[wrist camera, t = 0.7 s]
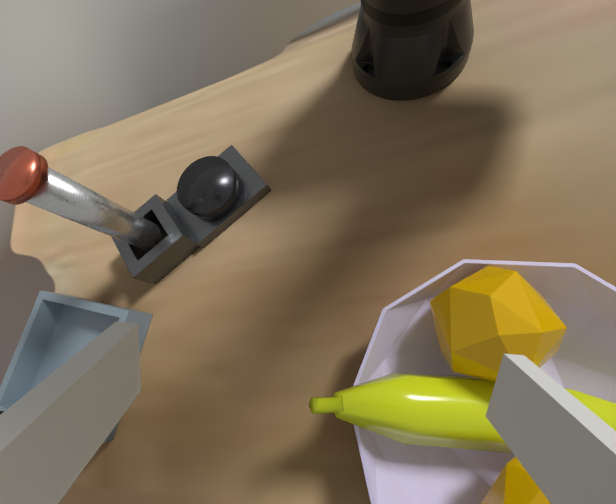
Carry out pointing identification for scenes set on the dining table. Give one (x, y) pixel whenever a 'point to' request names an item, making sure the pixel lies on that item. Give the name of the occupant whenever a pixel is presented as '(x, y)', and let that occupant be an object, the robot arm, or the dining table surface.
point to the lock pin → (71, 199)
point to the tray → (60, 339)
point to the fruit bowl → (472, 377)
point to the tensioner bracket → (194, 212)
